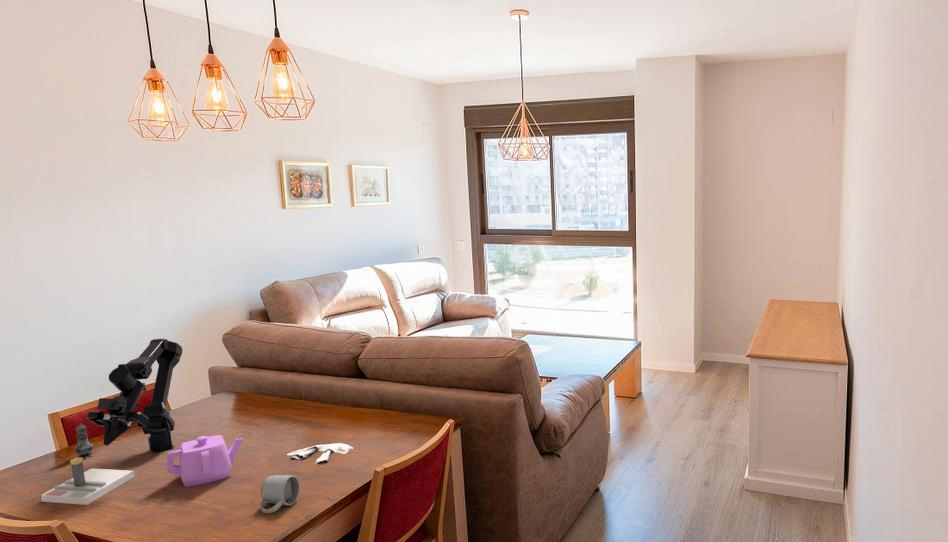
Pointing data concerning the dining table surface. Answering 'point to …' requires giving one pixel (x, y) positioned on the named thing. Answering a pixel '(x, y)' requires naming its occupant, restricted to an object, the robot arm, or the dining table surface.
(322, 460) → the cloth
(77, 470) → the knob
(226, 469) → the teakettle
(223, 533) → the dining table surface
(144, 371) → the robot arm
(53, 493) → the switch board
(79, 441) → the grey statuette
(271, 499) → the ceramic mug
